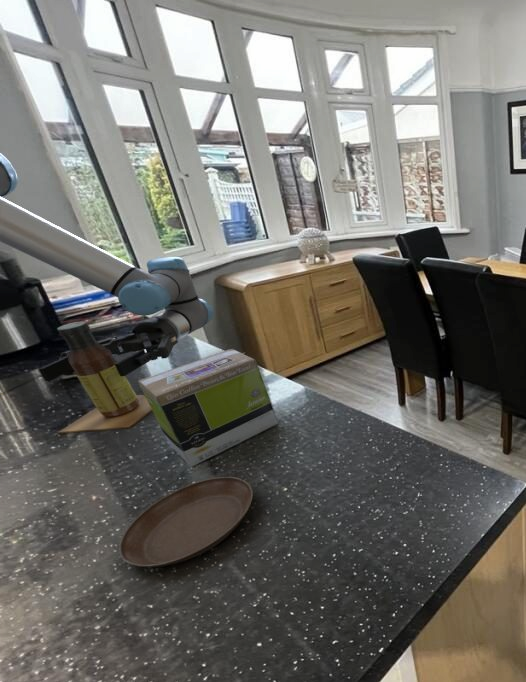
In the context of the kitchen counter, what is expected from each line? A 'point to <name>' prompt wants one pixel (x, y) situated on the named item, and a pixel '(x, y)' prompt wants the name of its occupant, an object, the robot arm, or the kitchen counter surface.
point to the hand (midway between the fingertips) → (81, 372)
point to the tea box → (210, 404)
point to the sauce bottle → (98, 371)
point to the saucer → (186, 522)
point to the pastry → (68, 375)
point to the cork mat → (109, 419)
